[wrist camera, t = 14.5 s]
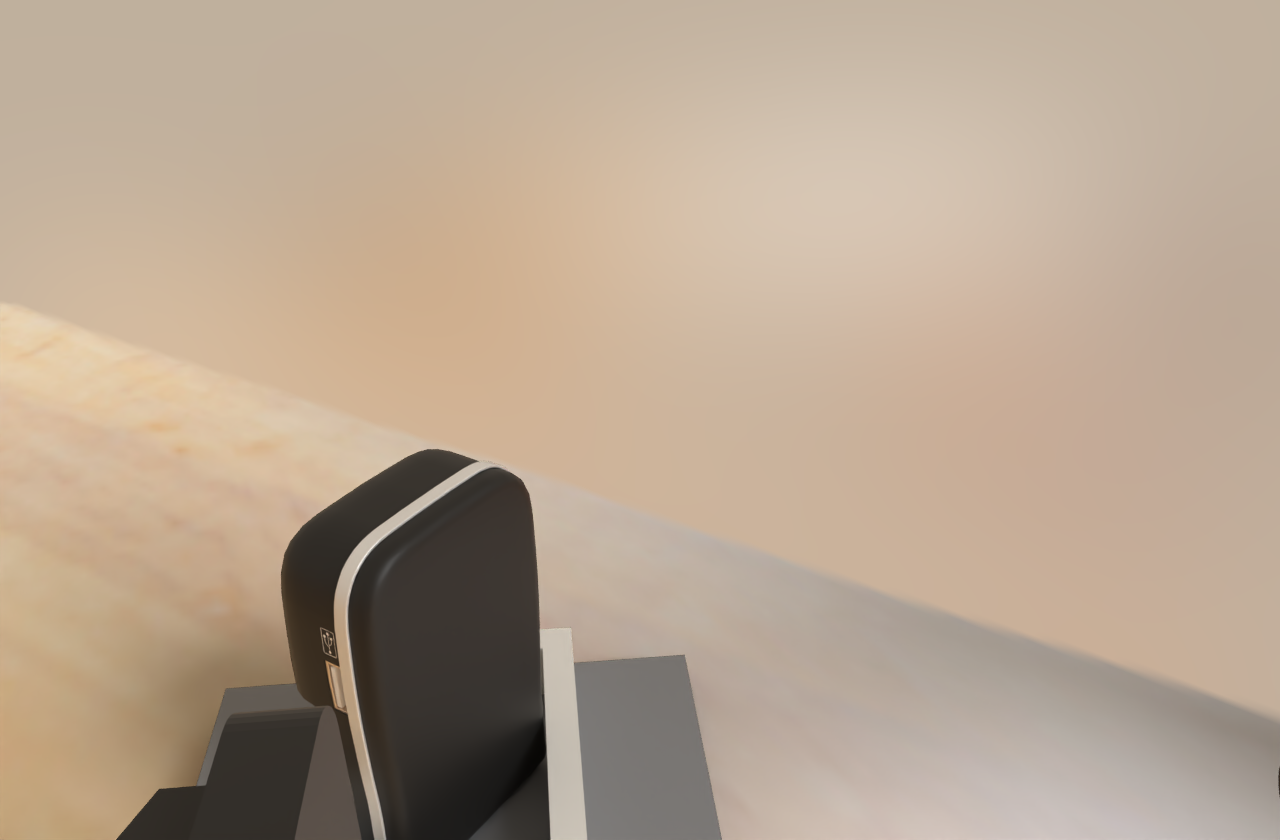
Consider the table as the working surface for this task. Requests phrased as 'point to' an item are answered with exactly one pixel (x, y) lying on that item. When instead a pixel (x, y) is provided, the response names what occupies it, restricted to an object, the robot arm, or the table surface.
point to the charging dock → (585, 751)
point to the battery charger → (423, 641)
